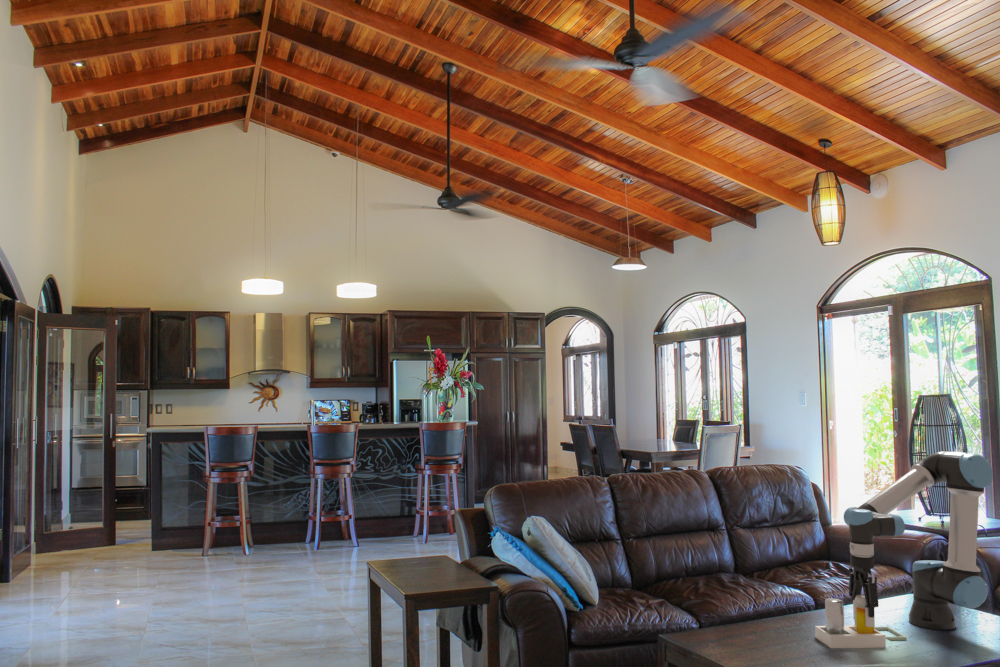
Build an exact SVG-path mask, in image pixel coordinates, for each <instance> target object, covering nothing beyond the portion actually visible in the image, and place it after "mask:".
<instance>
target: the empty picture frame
mask: <svg viewBox="0 0 1000 667" xmlns="http://www.w3.org/2000/svg"><path fill="white" fill-rule="evenodd" d="M874 629H875V630H877V631H887V632H890V633H892V634H894V635H895V636H885V639H886V640H888V641H907V638H908V637H907V636H905V635H903V634H901V633H900V632H898V631H897V630H894V629H893V628H891V627H889V626H875V627H874Z"/></svg>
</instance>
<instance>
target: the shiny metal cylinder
mask: <svg viewBox="0 0 1000 667" xmlns="http://www.w3.org/2000/svg"><path fill="white" fill-rule="evenodd" d="M824 608H825V609H824V612H825V626H826V632H827V633H828V634H830V635H831V634H844V625H845V615H844V614H845V612H844V610H845V608H844V600H842V599H839V598H830V597H829V598H828V597H827V598H825V600H824Z"/></svg>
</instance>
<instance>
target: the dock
mask: <svg viewBox="0 0 1000 667" xmlns="http://www.w3.org/2000/svg"><path fill="white" fill-rule="evenodd" d="M814 629H815V630H814V631H815V632H814V634H815V636H814V637H815V638H816V639H817V640H819V641H820V642H822V644H824V645H825V646H827V647H829V648H830V649H859V648H860V649H862V648H863V649H864V648H869V649H871V648H873V649H874V648H886V647H887V644H886V641H887V639H885V637H886V634H884V633H882V632H881V631H880V630H875V629H874V634H859V633H857V632H856V631H855V624H852V625H851V624H850V625H849V624H848V625H846V624H844V634H831V635H830V634H828V633H827V632H826V625H815V626H814Z"/></svg>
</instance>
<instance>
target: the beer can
mask: <svg viewBox="0 0 1000 667" xmlns="http://www.w3.org/2000/svg"><path fill="white" fill-rule="evenodd" d="M865 606H867V604H866V599H865V595H864V594H861V595H856V597H855V620H854V625H855V631H856V632H857V633H859V634H874V627H867V626H866V615H865Z"/></svg>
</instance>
